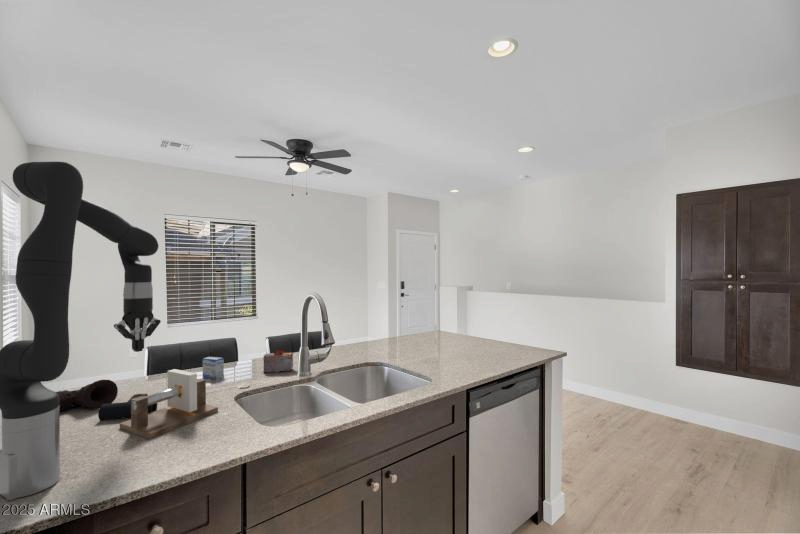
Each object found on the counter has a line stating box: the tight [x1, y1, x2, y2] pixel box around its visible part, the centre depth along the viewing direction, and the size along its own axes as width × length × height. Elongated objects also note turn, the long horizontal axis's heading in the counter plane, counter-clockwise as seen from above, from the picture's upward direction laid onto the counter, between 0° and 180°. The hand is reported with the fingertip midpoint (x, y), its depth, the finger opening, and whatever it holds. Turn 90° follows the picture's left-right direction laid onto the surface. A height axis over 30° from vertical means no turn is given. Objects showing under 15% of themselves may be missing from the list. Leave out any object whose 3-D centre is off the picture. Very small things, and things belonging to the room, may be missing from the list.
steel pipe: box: [131, 386, 182, 410], centre depth 118 cm, size 22×3×3 cm, turn 153°
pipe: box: [55, 379, 119, 412], centre depth 129 cm, size 10×15×15 cm
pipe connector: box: [97, 393, 158, 421], centre depth 124 cm, size 12×5×15 cm
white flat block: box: [166, 368, 198, 412], centre depth 121 cm, size 2×12×12 cm, turn 63°
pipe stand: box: [119, 378, 219, 440], centre depth 118 cm, size 22×16×10 cm
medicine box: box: [202, 356, 225, 379], centre depth 163 cm, size 8×4×9 cm, turn 73°
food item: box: [262, 350, 294, 373], centre depth 172 cm, size 14×8×10 cm, turn 102°
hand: (138, 351), depth 114 cm, fingers closed
